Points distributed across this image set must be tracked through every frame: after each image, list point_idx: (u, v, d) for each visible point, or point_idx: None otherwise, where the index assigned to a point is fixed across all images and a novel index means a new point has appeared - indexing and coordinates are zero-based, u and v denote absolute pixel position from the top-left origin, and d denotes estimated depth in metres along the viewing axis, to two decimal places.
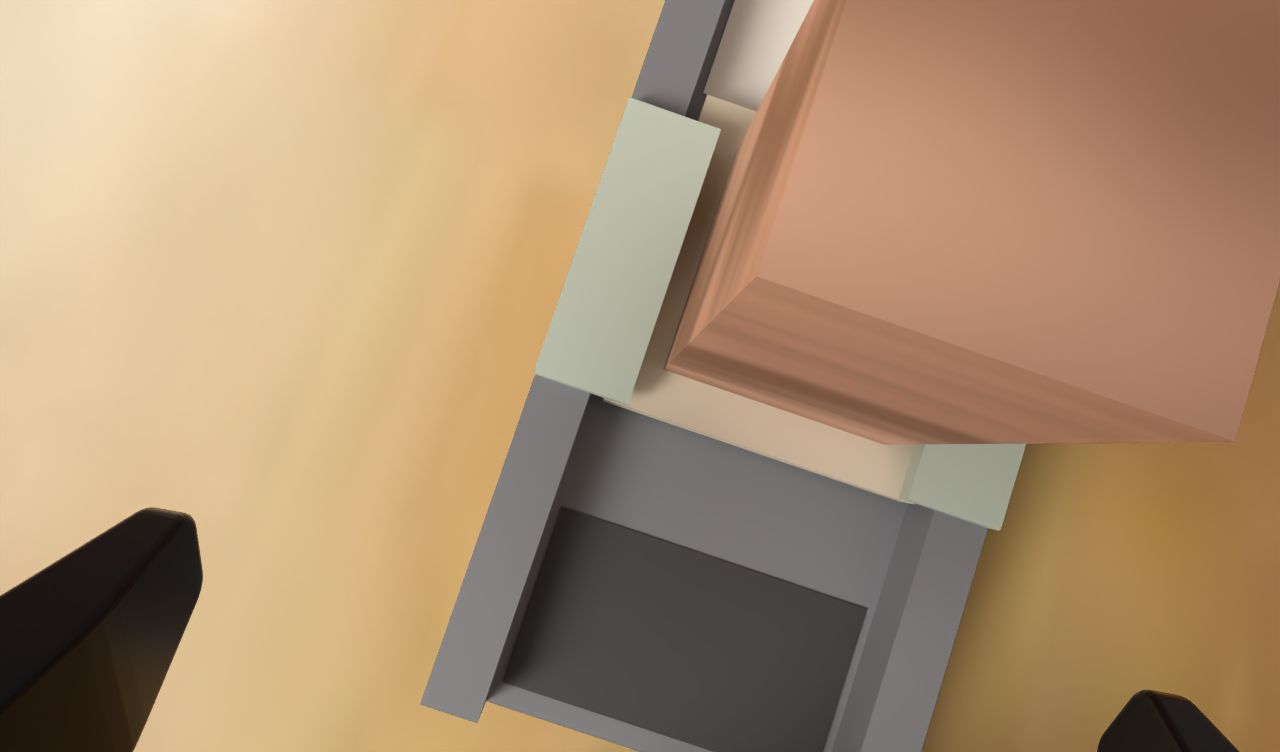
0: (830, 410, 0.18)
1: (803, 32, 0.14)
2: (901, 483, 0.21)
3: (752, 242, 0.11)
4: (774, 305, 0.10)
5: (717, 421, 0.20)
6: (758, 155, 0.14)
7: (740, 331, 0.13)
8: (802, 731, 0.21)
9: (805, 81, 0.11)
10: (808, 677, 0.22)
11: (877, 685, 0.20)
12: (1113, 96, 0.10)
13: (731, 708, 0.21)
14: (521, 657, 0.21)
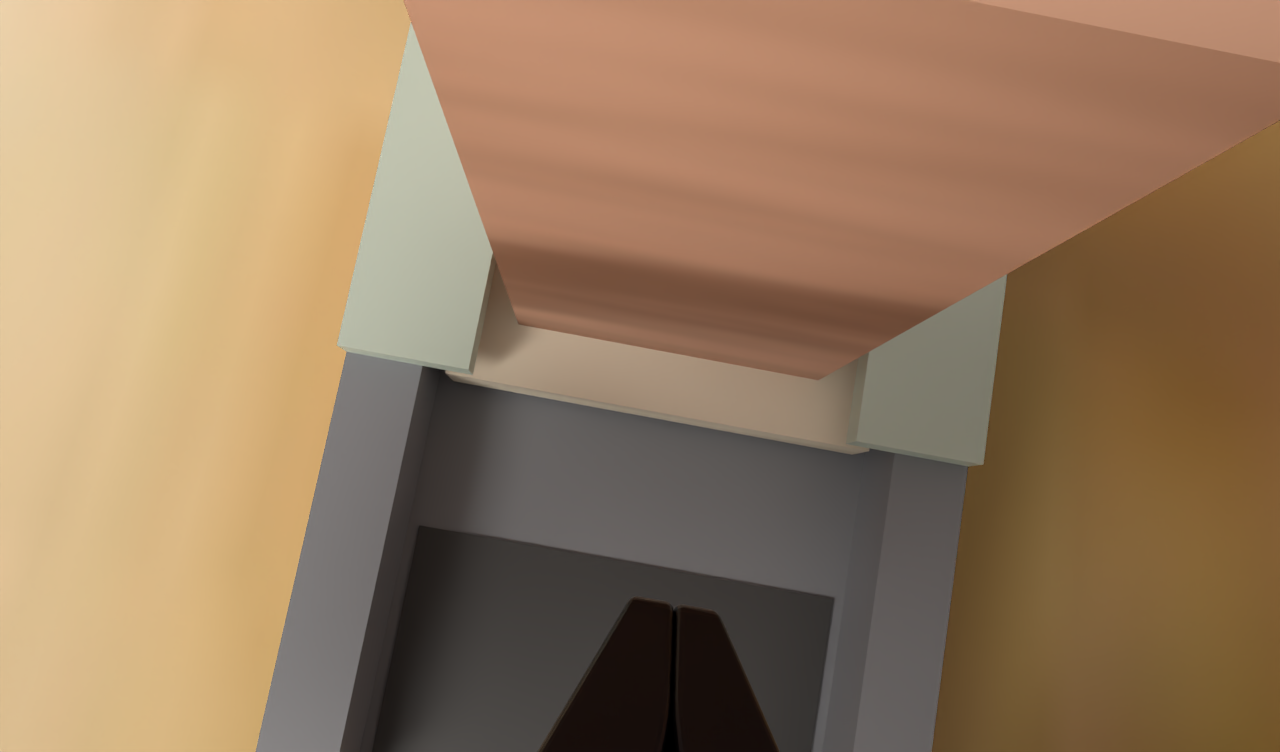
0: (725, 327, 0.13)
1: None
2: (847, 426, 0.16)
3: None
4: (468, 6, 0.06)
5: (597, 381, 0.16)
6: None
7: (502, 151, 0.08)
8: None
9: None
10: (771, 700, 0.16)
11: (857, 696, 0.15)
12: None
13: None
14: (390, 731, 0.16)
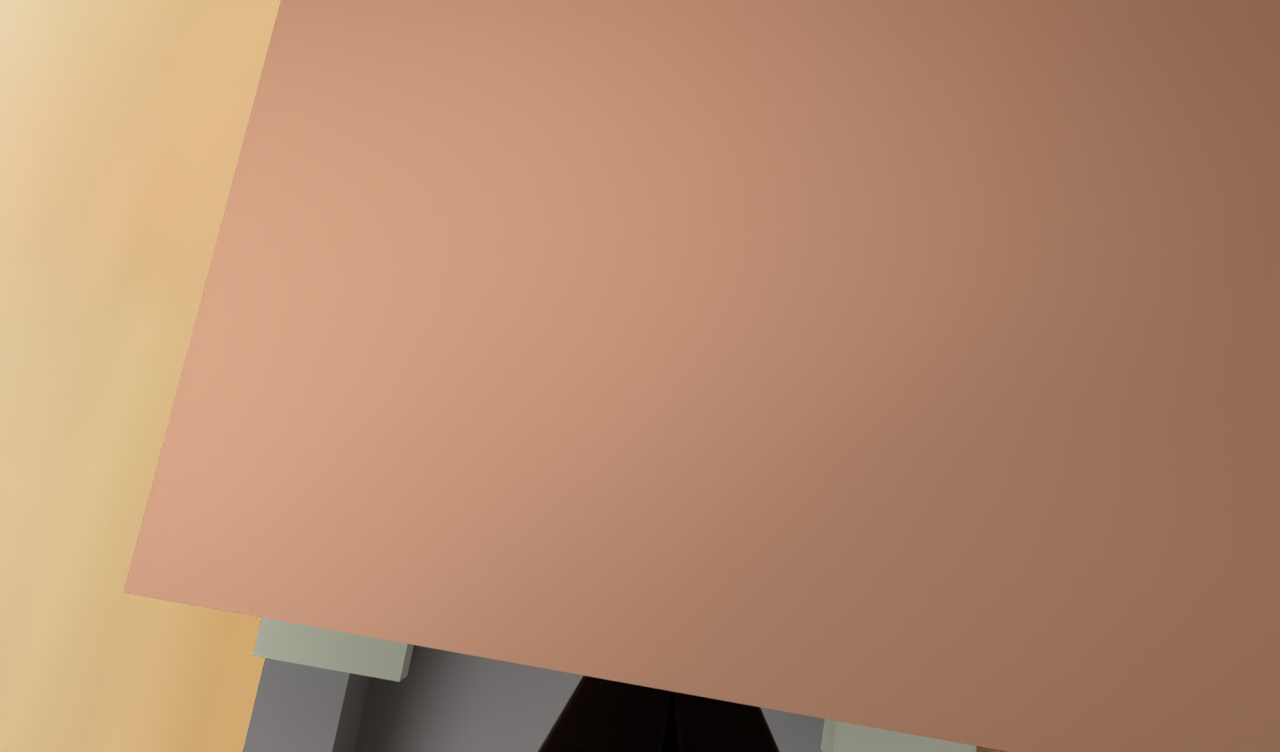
0: None
1: None
2: None
3: None
4: None
5: None
6: None
7: None
8: None
9: None
10: None
11: None
12: None
13: None
14: None
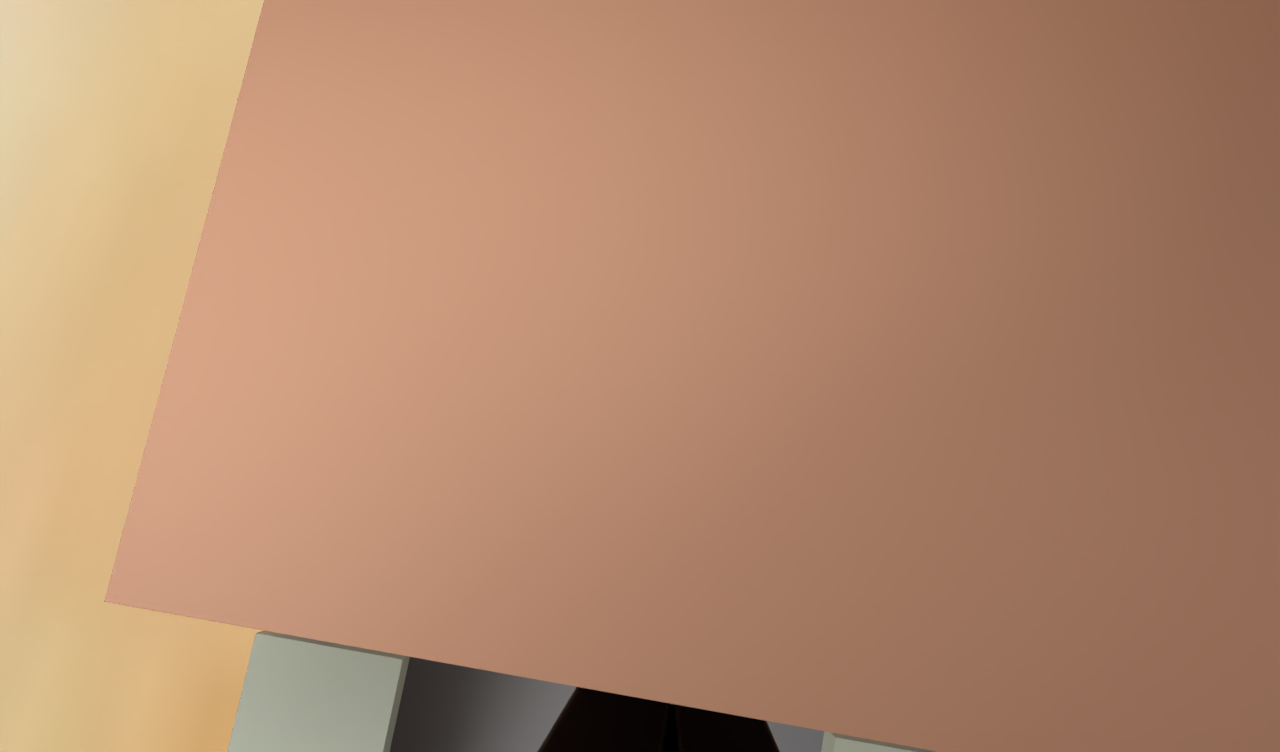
0: None
1: None
2: None
3: None
4: None
5: None
6: None
7: None
8: None
9: None
10: None
11: None
12: None
13: None
14: None
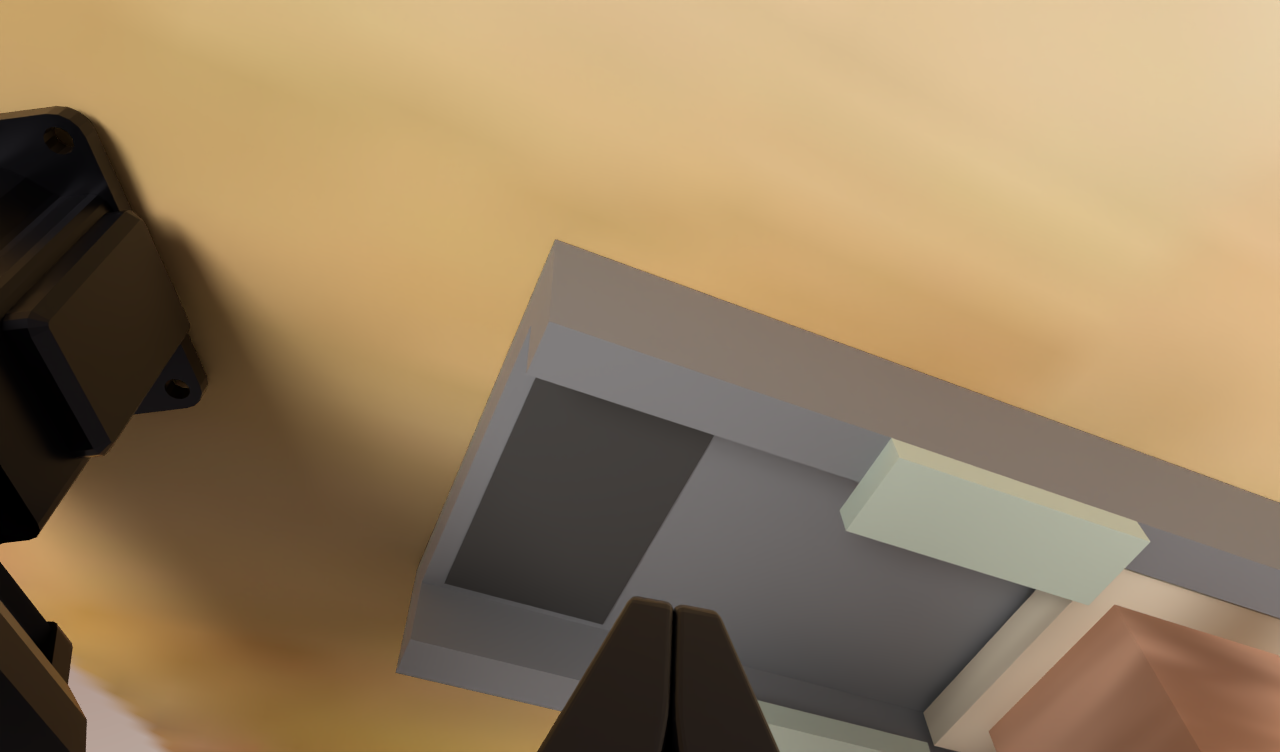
0: None
1: None
2: (953, 739, 0.25)
3: None
4: None
5: (1051, 637, 0.23)
6: None
7: None
8: (493, 578, 0.23)
9: None
10: (542, 581, 0.23)
11: (546, 667, 0.22)
12: None
13: (516, 529, 0.22)
14: None
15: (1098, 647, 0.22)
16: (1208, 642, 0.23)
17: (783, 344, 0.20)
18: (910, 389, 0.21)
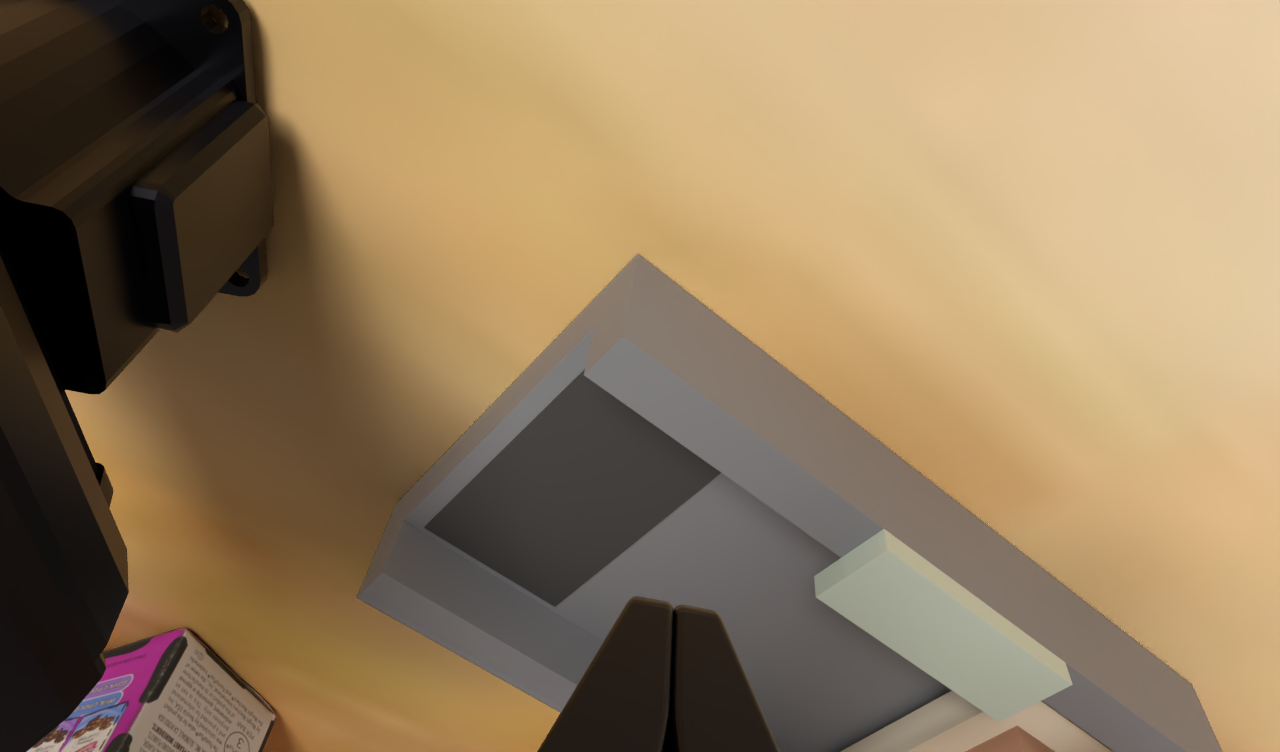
0: None
1: None
2: None
3: None
4: None
5: (952, 737, 0.25)
6: None
7: None
8: (471, 537, 0.24)
9: None
10: (514, 552, 0.24)
11: (496, 632, 0.23)
12: None
13: (509, 500, 0.23)
14: None
15: None
16: None
17: (810, 411, 0.21)
18: (906, 485, 0.22)
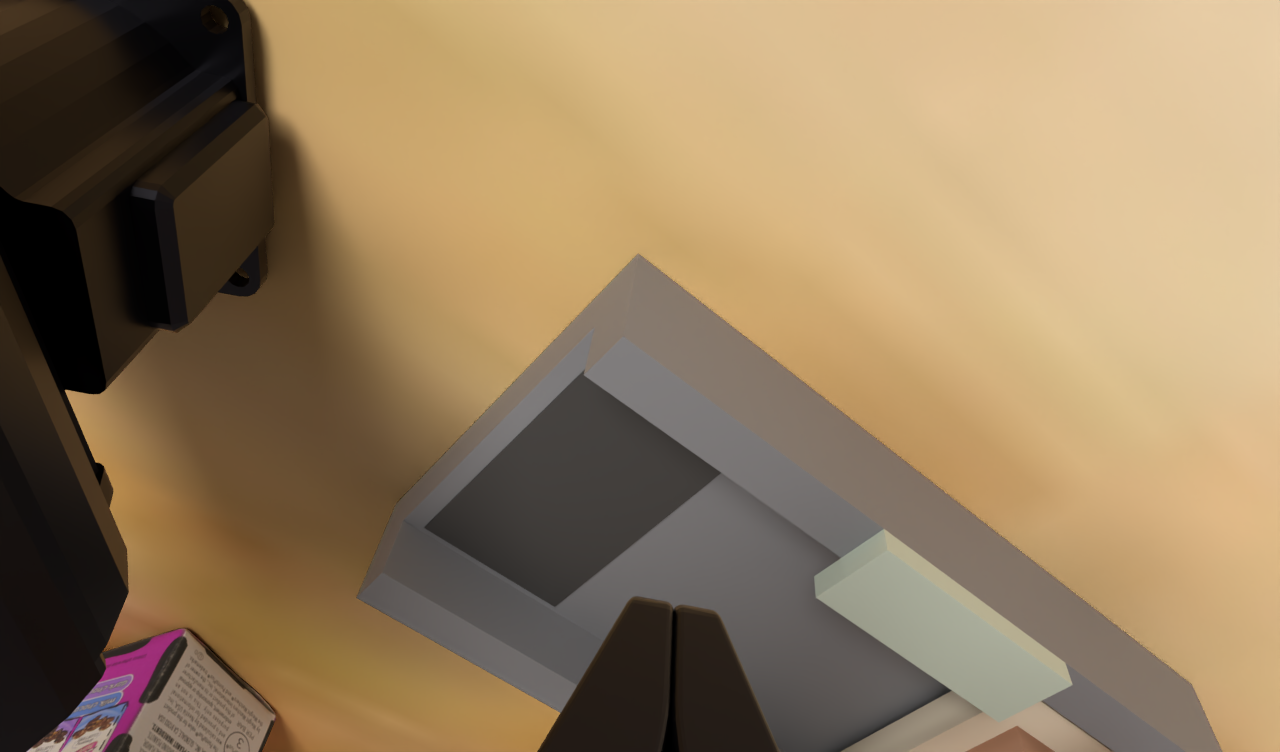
0: None
1: None
2: None
3: None
4: None
5: (952, 737, 0.25)
6: None
7: None
8: (471, 537, 0.24)
9: None
10: (514, 552, 0.24)
11: (496, 633, 0.23)
12: None
13: (509, 500, 0.23)
14: None
15: None
16: None
17: (810, 411, 0.21)
18: (905, 486, 0.22)
